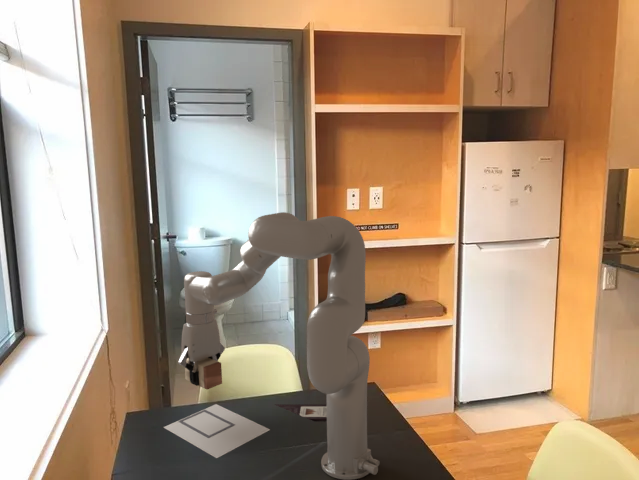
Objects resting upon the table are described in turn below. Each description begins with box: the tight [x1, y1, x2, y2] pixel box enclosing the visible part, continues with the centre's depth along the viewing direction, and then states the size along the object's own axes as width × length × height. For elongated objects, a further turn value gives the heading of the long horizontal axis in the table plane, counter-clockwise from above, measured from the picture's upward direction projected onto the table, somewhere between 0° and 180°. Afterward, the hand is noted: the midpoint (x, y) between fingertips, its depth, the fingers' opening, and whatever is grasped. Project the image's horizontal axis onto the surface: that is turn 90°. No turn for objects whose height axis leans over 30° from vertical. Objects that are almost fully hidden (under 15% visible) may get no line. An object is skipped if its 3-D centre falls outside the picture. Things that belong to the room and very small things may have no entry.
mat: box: [163, 403, 271, 459], centre depth 143 cm, size 24×18×1 cm
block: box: [184, 358, 223, 390], centre depth 144 cm, size 10×5×6 cm, turn 48°
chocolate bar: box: [274, 403, 327, 422], centre depth 152 cm, size 9×1×18 cm
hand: (203, 380), depth 144 cm, fingers closed on block, 5 cm apart
